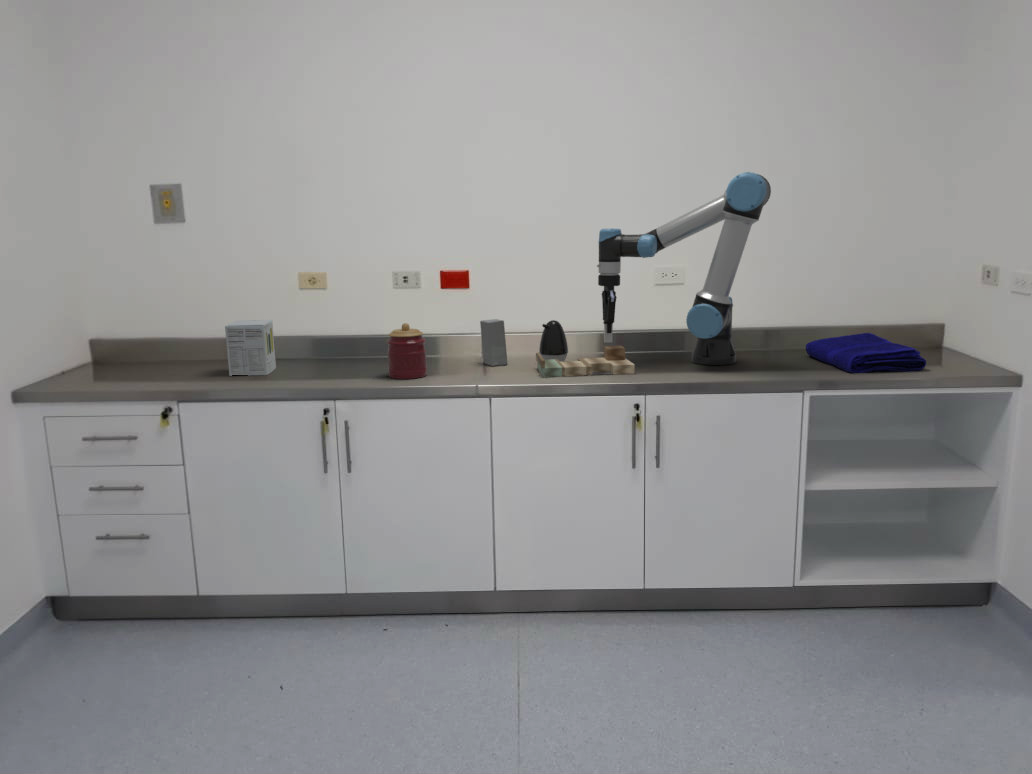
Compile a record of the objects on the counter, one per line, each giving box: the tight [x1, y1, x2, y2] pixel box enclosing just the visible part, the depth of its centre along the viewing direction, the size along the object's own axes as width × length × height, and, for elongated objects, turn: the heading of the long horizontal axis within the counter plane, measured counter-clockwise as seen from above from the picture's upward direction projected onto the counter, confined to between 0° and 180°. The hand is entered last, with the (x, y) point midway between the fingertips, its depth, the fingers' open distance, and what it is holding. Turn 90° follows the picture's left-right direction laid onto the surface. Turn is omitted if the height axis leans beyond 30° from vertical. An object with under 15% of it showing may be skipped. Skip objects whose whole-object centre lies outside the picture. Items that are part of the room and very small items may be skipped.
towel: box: [805, 332, 927, 374], centre depth 279 cm, size 26×36×9 cm
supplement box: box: [224, 319, 277, 377], centre depth 285 cm, size 13×13×18 cm
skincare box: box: [479, 318, 508, 367], centre depth 291 cm, size 8×7×16 cm
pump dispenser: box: [538, 319, 569, 362], centre depth 291 cm, size 10×10×15 cm
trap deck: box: [535, 352, 636, 378], centre depth 275 cm, size 30×16×6 cm, turn 96°
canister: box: [386, 322, 428, 380], centre depth 272 cm, size 13×13×18 cm
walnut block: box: [603, 345, 626, 361], centre depth 280 cm, size 6×6×4 cm
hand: (608, 341), depth 288 cm, fingers closed
